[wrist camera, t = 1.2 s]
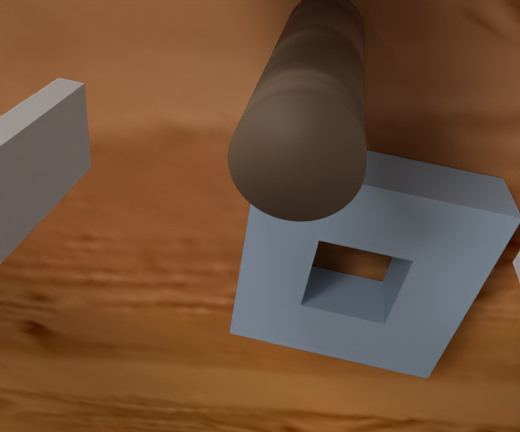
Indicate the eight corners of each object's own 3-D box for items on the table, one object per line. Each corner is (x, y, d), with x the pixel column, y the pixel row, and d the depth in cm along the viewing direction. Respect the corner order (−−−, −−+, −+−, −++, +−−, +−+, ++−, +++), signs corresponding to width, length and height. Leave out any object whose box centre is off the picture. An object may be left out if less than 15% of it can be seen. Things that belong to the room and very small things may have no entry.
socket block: (240, 293, 37) (229, 333, 34) (269, 129, 29) (257, 162, 26) (421, 334, 36) (427, 378, 33) (503, 178, 28) (522, 218, 25)
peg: (280, 64, 26) (221, 206, 15) (293, -15, 24) (235, 85, 13) (352, 78, 26) (346, 233, 15) (373, 0, 24) (384, 116, 13)
